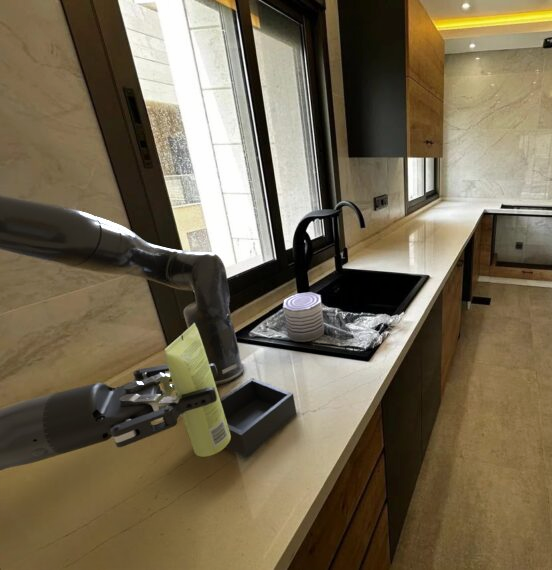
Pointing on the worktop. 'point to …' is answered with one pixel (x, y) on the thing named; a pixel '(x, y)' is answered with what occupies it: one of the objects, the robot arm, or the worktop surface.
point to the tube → (191, 377)
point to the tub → (256, 414)
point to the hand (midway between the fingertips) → (215, 381)
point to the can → (304, 316)
